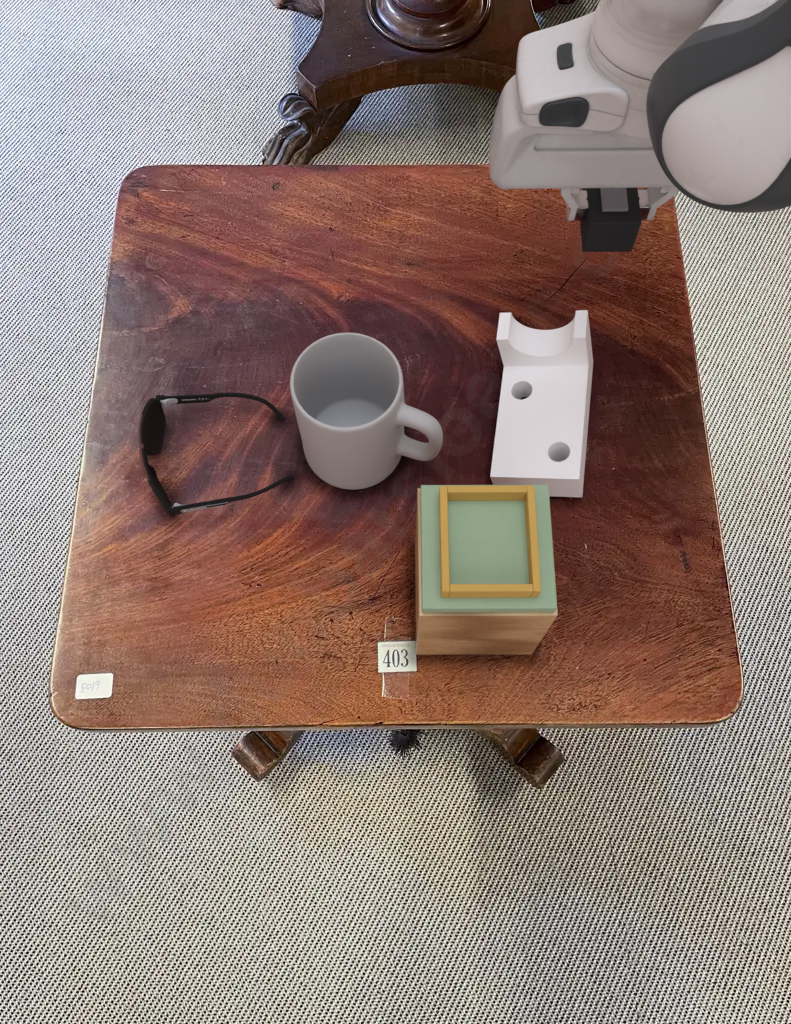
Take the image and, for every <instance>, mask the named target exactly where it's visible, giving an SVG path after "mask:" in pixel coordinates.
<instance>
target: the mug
mask: <svg viewBox="0 0 791 1024" xmlns="http://www.w3.org/2000/svg"><path fill="white" fill-rule="evenodd" d="M404 384H405V383H404V375H403V370H402V366H401V365H400V362H399V360H398V359H397V357H396V355H395V354H394V352H393V351H392V350H391V349H390V348H388V346H387V345H386V344H384V343H383V342H382V341H380V340H378V339H376V338H374V337H372V336H369V335H367V334H363V333H358V332H338V333H337V332H336V333H332V334H329V335H326V336H323V337H321V338H319V339H317V340H315V341H314V342H312V343H311V344H309V345H308V346H307V347H306V348H304V350H303V351H302V352H301V353H300V354H299V356H298V357H297V359H296V360H295V362H294V364H293V366H292V369H291V372H290V378H289V391H290V397H291V401H292V405H293V409H294V413H295V418H296V421H297V426H298V430H299V434H300V438H301V444H302V448H303V453H304V457H305V460H306V462H307V464H308V466H309V467H310V469H311V470H312V472H313V473H314V475H316V476H317V477H318V478H319V479H320V480H322V481H323V482H325V484H328V485H330V486H332V487H335V488H338V489H343V490H348V491H349V490H350V491H351V490H353V491H354V490H355V491H356V490H363V489H368V488H370V487H373V486H376V485H378V484H380V483H381V482H383V481H384V480H386V479H387V478H389V476H390V475H391V474H392V473H393V472H394V471H395V470H396V468H397V466H398V465H399V463H400V462H401V459H402V456H403V457H406V458H408V459H409V458H410V459H412V460H416V461H422V462H429V461H432V460H434V459H435V458H436V457H438V455H439V453H440V452H441V449H442V447H443V441H444V434H443V428H442V425H441V424H440V423H439V421H438V420H437V419H436V418H435V417H434V416H432V415H431V414H430V413H429V412H428V413H427V412H426V411H424V410H422V409H419V408H416V407H413V406H411V405H409V404H406V403H405V386H404ZM405 427H408V428H411V429H413V430H416V431H418V432H420V433H422V434H423V435H424V436H426V439H427V440H428V442H423V441H420V440H416V439H413V438H411V437H409V436H408V435H406V434H405Z"/></svg>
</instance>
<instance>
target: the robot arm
mask: <svg viewBox="0 0 791 1024" xmlns="http://www.w3.org/2000/svg"><path fill="white" fill-rule="evenodd" d="M488 173H489V179H490V181H491V182H492V183H493V184H494V185H495V186H496V187H497V188H499V190H500V189H501V190H546V189H548V190H551V189H552V190H554V189H558V190H559V191H560V192H559V193H560V196H561V197H562V199H563V201H564V202H565V203H566V208H565V210H566V220H567V222H576V221H577V222H580V221H585V220H586V215H587V212H588V208H589V207H588V200H587V198H588V196H587V190H582V188H638V196H639V205H640V213H641V221H653V220H654V218H655V215H656V212H657V209H658V208H660V207H661V206H663V205H664V204H665V203H667V202H668V201H669V200H671V199H673V197H675V196H676V195H678V193H679V192H680V193H681V194H683V195H684V196H686V197H687V198H688V199H690V200H692V201H693V202H695V203H697V204H699V205H702V206H704V207H707V208H710V209H712V210H713V209H714V210H717V211H721V212H730V213H738V214H756V213H757V214H758V213H767V212H768V213H769V212H775V211H780V210H783V209H785V208H788V207H791V0H599V1H598V4H597V6H596V8H595V10H593V11H591V12H589V13H587V14H584V15H582V16H580V17H577V18H574V19H571V20H568V21H566V22H563V23H560V24H556V25H553V26H549V27H545V28H543V29H539V30H536V31H532V32H530V33H527V34H526V35H524V36H523V37H522V38H521V39H520V40H519V42H518V46H517V52H516V62H515V74H513V76H512V77H511V78H510V79H509V80H508V81H507V82H506V83H505V85H504V86H503V89H502V90H501V92H500V95H499V98H498V102H497V105H496V108H495V112H494V116H493V119H492V125H491V130H490V135H489V143H488ZM643 188H646V189H643Z"/></svg>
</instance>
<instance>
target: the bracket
mask: <svg viewBox="0 0 791 1024" xmlns="http://www.w3.org/2000/svg"><path fill="white" fill-rule="evenodd" d="M498 316H499V317H498V324H497V332H496V338H495V340H496V343H497V347H498V351H499V355H500V358H501V362H502V365H503V370H502V378H501V386H500V393H499V394H500V395H499V402H498V408H497V409H498V410H497V417H496V426H495V434H494V441H493V450H492V458H491V466H490V473H489V474H490V475H489V478H490V480H491V483H492V485H548V486H549V497H559V498H583V494H584V482H585V471H586V470H585V469H586V458H587V445H588V435H589V419H590V407H591V394H592V382H593V372H594V355H593V347H592V336H591V327H590V319H589V318H590V317H589V310H588V309H580V310H575V312H574V317H573V319H572V320H571V321H570V322H569V323H568V324H565V325H564V326H561V327H558V328H553V329H538V328H532V327H530V326H526V325H524V324H522V323H520V322H519V321H517V319H515V317H514V316H513V313H512V312H511V311H510V312H499V315H498ZM522 398H523V399H522Z"/></svg>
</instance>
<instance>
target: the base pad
mask: <svg viewBox="0 0 791 1024" xmlns="http://www.w3.org/2000/svg"><path fill="white" fill-rule="evenodd" d="M420 488H421V570H422V612H555V611H556V609H558V597H557V598H556V595H557V585H556V584H555V581H556V570H554V567H555V555H554V556H553V553H554V541H553V542H552V539H553V527H552V528H551V525H552V513H551V514H550V511H551V499H550V500H549V497H550V496H549V486H548V485H493V484H421V485H420Z"/></svg>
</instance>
